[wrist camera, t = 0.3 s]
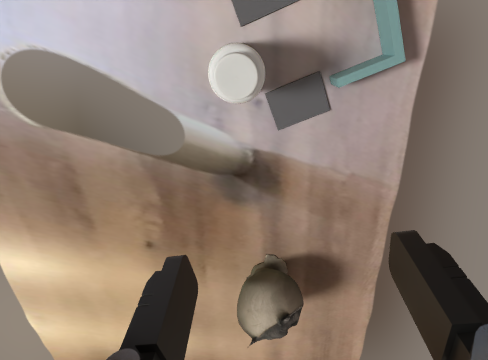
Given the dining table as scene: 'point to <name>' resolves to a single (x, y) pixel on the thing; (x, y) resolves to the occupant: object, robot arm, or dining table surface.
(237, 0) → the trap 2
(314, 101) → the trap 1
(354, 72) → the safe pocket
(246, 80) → the supplement bottle
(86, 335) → the dining table surface
